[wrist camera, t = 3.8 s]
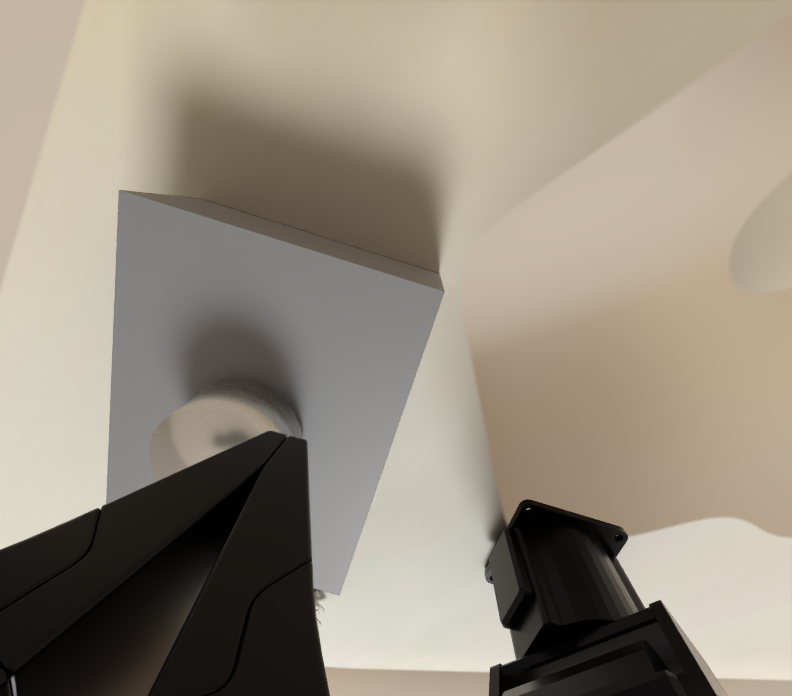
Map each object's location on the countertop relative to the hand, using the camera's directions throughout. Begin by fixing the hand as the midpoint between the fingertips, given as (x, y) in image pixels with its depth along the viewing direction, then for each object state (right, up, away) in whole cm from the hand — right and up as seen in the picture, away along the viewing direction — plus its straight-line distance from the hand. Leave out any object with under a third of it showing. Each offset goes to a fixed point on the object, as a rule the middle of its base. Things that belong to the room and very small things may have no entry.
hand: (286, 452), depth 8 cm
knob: (-4, 0, +12) cm, 13 cm away
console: (-4, 0, +13) cm, 13 cm away
